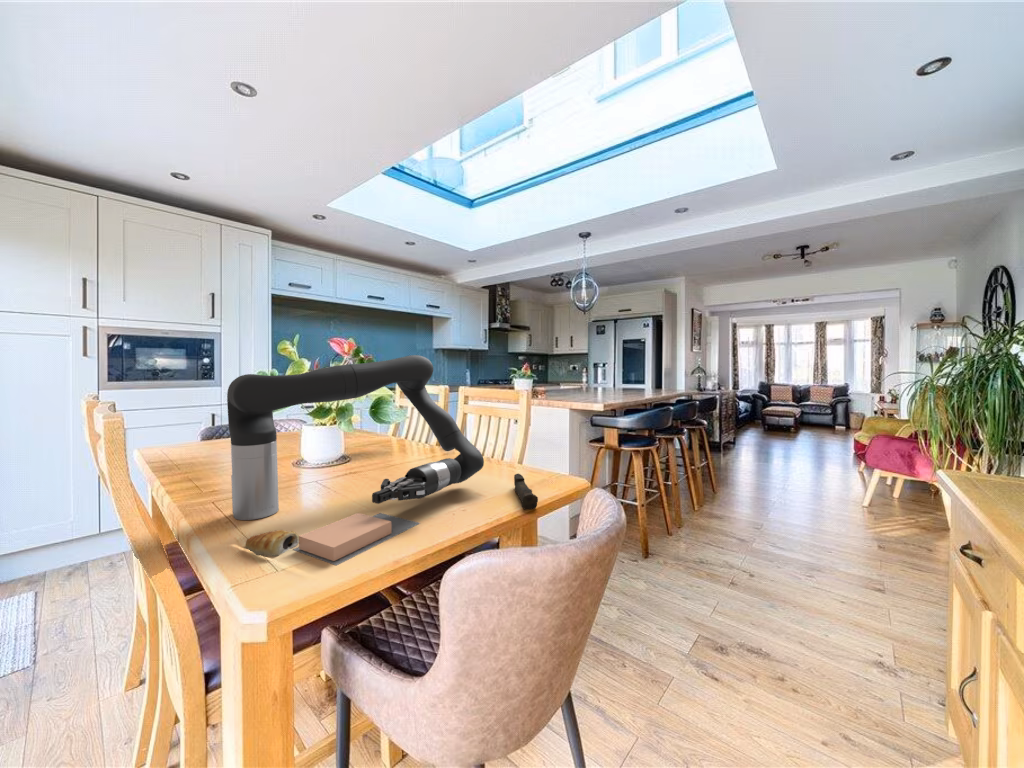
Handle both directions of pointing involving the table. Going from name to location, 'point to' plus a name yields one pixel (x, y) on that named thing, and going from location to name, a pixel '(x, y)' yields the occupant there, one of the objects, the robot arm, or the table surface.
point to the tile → (344, 536)
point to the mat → (396, 528)
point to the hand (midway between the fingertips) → (374, 498)
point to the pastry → (272, 542)
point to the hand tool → (525, 493)
